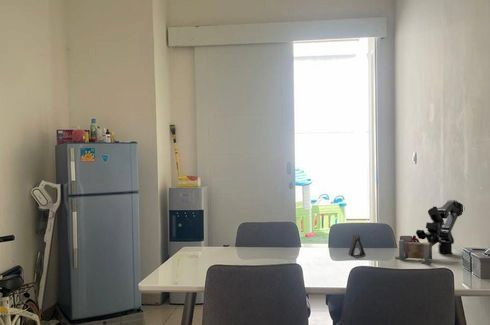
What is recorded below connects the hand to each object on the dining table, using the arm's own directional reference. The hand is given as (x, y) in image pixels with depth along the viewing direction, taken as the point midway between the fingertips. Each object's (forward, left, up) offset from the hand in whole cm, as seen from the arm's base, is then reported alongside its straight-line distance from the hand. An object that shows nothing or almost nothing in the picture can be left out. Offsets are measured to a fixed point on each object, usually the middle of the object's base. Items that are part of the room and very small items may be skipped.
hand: (429, 247), depth 251 cm
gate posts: (+11, +6, -7) cm, 14 cm away
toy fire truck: (+5, -20, -7) cm, 22 cm away
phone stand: (+39, -12, -7) cm, 41 cm away
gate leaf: (+7, +3, -6) cm, 9 cm away
